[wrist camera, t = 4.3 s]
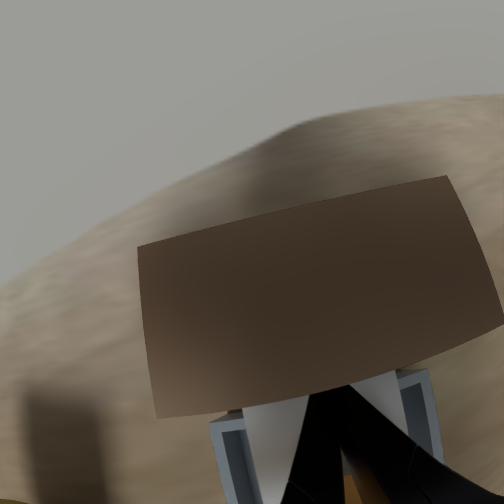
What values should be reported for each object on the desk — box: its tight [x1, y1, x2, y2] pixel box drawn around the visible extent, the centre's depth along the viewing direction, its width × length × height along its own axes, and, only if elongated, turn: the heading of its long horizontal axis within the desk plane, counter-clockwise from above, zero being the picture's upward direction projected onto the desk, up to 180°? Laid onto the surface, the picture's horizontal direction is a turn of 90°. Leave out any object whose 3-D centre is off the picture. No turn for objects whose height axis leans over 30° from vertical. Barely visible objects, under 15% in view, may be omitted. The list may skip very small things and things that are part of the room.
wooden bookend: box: [137, 175, 504, 504], centre depth 9 cm, size 11×6×13 cm, turn 11°
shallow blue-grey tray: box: [208, 368, 445, 504], centre depth 12 cm, size 10×10×4 cm
